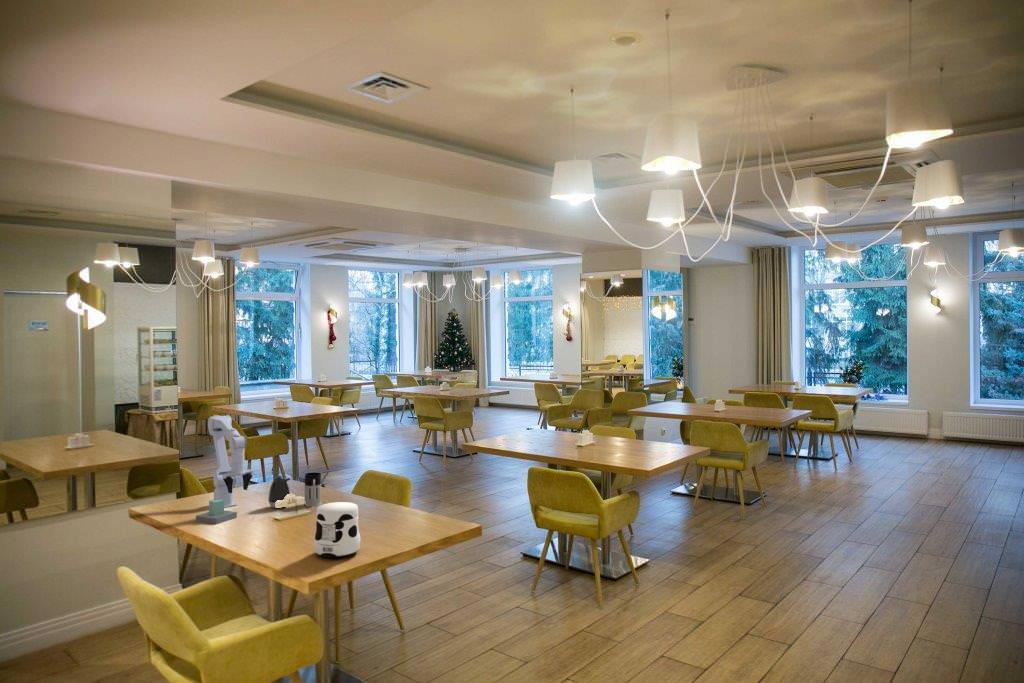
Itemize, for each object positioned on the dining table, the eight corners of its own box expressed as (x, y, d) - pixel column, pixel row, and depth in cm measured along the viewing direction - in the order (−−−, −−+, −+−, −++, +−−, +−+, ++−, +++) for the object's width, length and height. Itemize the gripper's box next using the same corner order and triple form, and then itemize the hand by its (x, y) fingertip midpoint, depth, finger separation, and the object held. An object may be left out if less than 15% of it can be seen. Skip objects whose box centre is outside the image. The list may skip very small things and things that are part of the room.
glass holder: (321, 501, 342) (321, 471, 342) (323, 508, 329) (323, 477, 329) (303, 502, 339) (303, 472, 339) (304, 509, 326) (304, 478, 326)
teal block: (209, 514, 309) (209, 500, 309) (218, 511, 312) (218, 498, 312) (214, 515, 306) (214, 502, 306) (223, 513, 310) (223, 500, 310)
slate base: (195, 521, 306) (195, 515, 306) (216, 514, 317) (216, 509, 317) (216, 524, 301) (216, 518, 301) (236, 517, 312) (236, 511, 312)
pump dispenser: (286, 510, 325) (286, 478, 325) (265, 510, 326) (264, 478, 325) (294, 504, 336) (293, 473, 335) (272, 504, 336) (272, 473, 336)
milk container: (353, 544, 273) (353, 499, 273) (366, 557, 258) (366, 509, 258) (309, 550, 265) (309, 504, 265) (319, 564, 250) (319, 515, 249)
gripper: (227, 465, 313) (227, 495, 313) (256, 461, 325) (256, 489, 325) (219, 463, 318) (219, 493, 318) (248, 459, 329) (248, 487, 329)
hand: (237, 491), depth 322 cm, fingers open, 7 cm apart
